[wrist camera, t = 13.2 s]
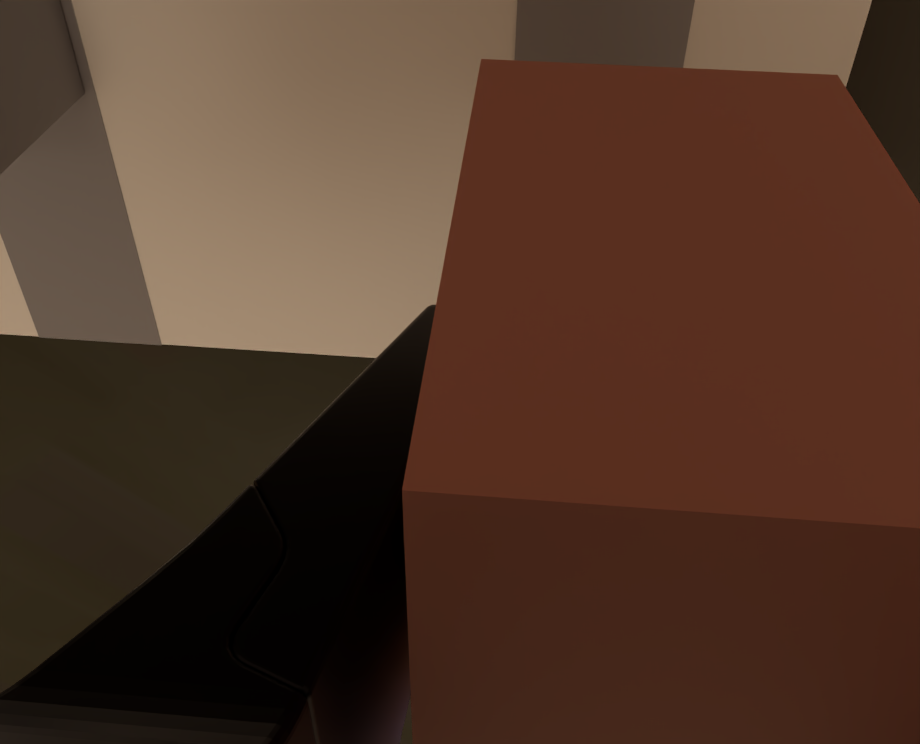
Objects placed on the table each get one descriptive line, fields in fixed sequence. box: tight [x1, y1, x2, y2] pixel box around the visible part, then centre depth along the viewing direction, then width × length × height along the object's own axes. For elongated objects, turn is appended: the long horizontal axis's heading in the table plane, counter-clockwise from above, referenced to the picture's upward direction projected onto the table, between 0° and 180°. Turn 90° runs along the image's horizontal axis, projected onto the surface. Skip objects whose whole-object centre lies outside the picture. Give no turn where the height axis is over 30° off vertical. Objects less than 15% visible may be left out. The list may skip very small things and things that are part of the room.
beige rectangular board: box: [0, 0, 872, 358], centre depth 20 cm, size 22×13×2 cm, turn 89°
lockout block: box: [402, 59, 920, 744], centre depth 8 cm, size 4×5×6 cm
